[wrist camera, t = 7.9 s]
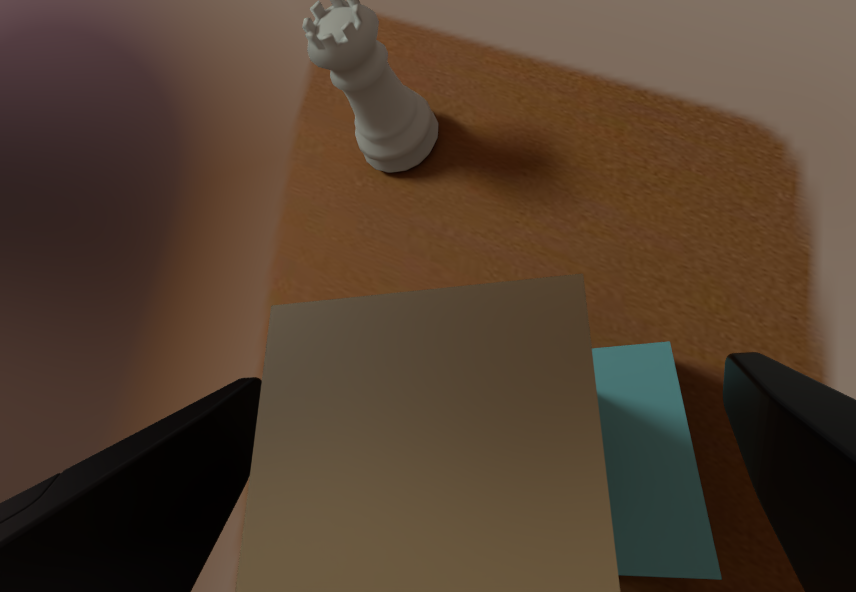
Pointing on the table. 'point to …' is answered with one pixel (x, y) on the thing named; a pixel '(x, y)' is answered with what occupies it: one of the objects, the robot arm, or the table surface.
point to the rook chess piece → (371, 86)
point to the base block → (651, 466)
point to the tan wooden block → (430, 446)
